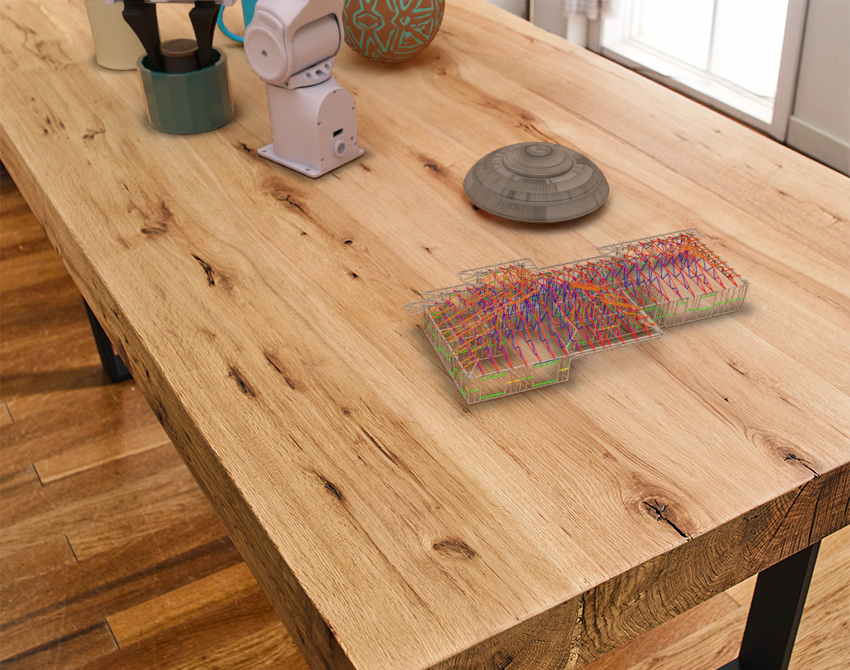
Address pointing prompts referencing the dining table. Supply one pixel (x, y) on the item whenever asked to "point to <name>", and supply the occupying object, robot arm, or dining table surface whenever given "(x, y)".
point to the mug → (248, 14)
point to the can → (113, 36)
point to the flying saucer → (536, 183)
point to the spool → (180, 55)
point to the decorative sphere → (391, 27)
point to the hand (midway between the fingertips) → (183, 67)
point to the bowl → (187, 96)
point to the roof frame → (567, 305)
